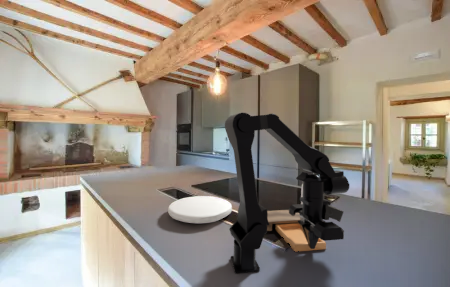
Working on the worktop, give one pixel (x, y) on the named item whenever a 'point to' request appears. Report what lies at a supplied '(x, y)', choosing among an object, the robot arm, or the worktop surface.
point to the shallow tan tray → (297, 237)
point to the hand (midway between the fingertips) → (312, 248)
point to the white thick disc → (200, 209)
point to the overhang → (281, 218)
